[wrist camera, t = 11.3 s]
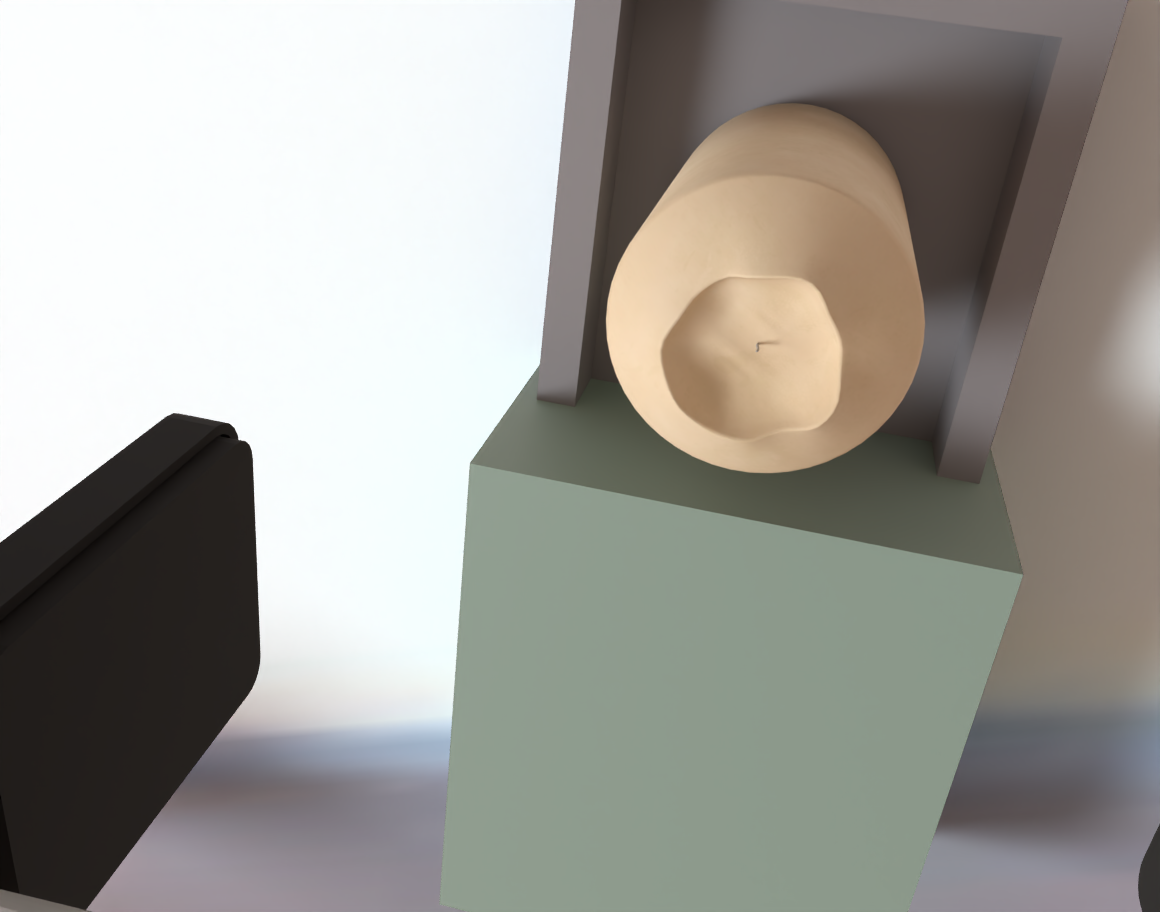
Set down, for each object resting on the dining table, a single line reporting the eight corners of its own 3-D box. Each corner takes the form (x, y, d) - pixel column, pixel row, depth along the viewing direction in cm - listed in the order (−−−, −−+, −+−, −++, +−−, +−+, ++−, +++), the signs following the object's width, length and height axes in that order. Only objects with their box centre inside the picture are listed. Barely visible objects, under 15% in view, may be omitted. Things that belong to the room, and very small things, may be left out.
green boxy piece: (589, -81, 26) (507, -81, 20) (1124, -15, 24) (1218, 7, 18) (507, 741, 37) (439, 904, 31) (868, 827, 35) (871, 1018, 29)
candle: (777, 48, 25) (738, 114, 16) (954, 206, 26) (1007, 350, 17) (628, 230, 28) (525, 370, 19) (793, 369, 28) (766, 567, 20)
